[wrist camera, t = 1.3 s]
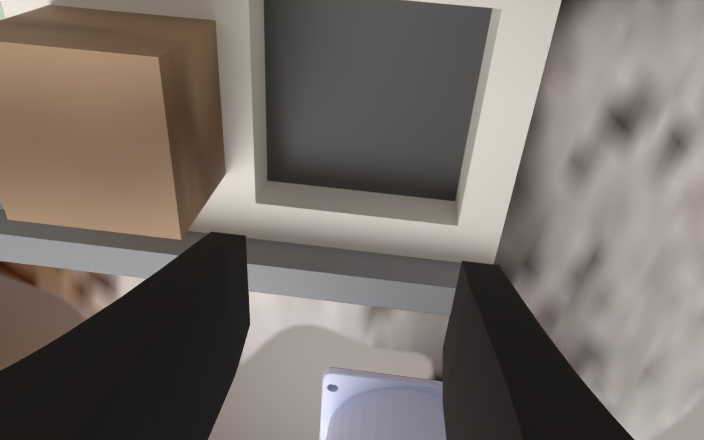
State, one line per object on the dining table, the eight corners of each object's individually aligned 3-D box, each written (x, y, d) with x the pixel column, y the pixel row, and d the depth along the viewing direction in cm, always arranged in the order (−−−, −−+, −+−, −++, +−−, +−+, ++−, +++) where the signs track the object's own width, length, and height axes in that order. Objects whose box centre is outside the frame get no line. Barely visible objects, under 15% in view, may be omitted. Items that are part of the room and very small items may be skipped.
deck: (477, 276, 22) (487, 348, 18) (-85, 210, 23) (-171, 265, 20) (577, -139, 14) (626, -148, 11) (-260, -201, 16) (-448, -225, 12)
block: (225, 174, 18) (181, 239, 15) (83, 158, 18) (7, 219, 15) (215, 20, 16) (158, 57, 12) (49, 4, 16) (-53, 36, 12)
